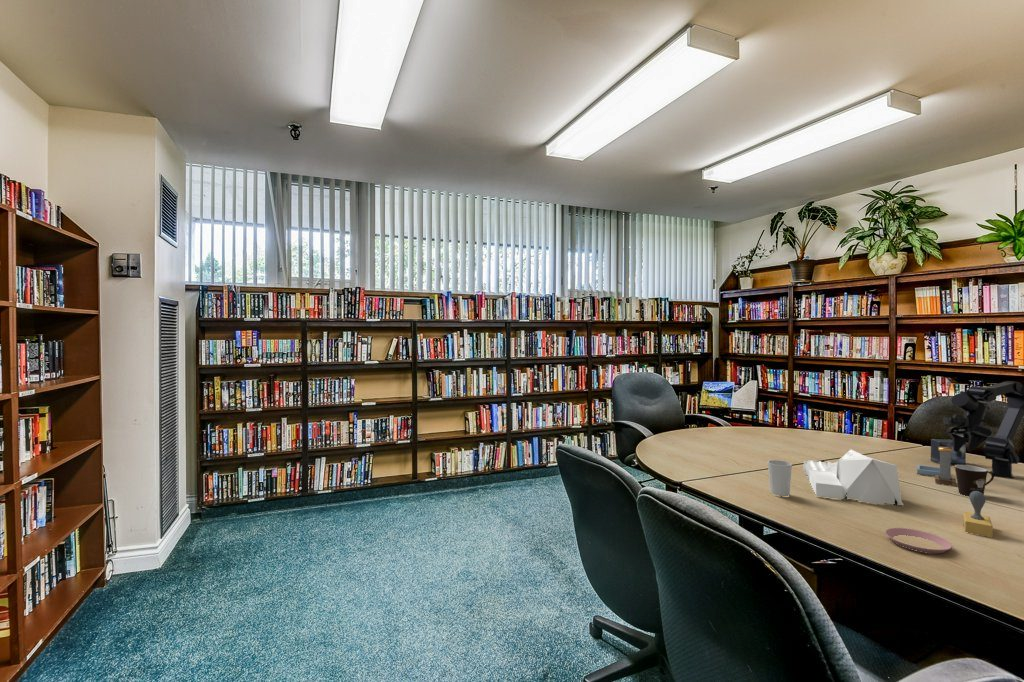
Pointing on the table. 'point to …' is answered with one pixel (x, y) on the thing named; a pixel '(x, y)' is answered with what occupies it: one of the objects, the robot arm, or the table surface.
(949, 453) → the pin
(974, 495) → the rubber stamp
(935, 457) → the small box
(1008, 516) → the table surface
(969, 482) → the coffee mug
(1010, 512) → the table surface
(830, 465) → the white faceted model
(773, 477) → the cup
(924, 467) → the tray
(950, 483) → the block
